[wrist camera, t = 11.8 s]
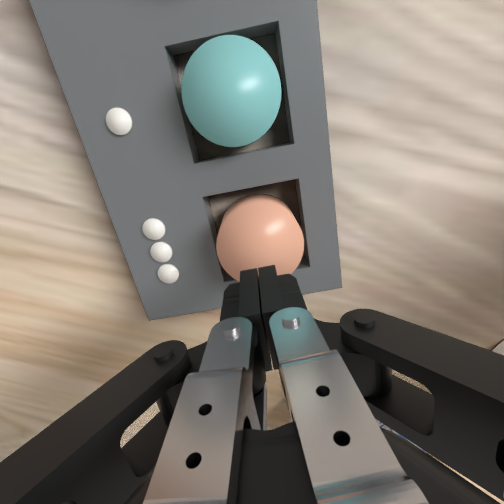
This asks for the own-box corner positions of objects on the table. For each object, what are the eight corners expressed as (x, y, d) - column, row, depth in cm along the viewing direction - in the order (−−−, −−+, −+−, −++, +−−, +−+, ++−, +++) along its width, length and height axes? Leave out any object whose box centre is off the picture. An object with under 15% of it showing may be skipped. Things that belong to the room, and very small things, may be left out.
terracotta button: (290, 186, 19) (298, 196, 16) (300, 258, 21) (309, 278, 18) (213, 201, 19) (206, 213, 16) (229, 271, 21) (226, 292, 18)
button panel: (284, -242, 13) (290, -310, 11) (334, 275, 23) (342, 289, 21) (-9, -162, 14) (-53, -211, 12) (156, 305, 24) (148, 322, 22)
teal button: (268, 42, 17) (272, 24, 14) (282, 136, 19) (288, 136, 16) (182, 61, 17) (169, 47, 14) (203, 152, 19) (195, 155, 16)
